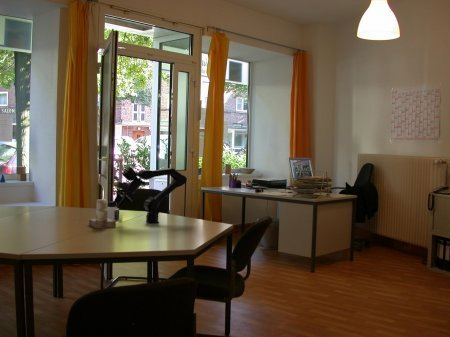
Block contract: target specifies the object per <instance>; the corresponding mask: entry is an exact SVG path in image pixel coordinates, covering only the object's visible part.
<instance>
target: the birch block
mask: <svg viewBox="0 0 450 337" xmlns="http://www.w3.org/2000/svg"><path fill="white" fill-rule="evenodd" d="M108 202H109V201H108V199H104V198H103V199H102V198H101V199H96V207H95V208H96V210H95V211H96V212H95V213H96V214H95V215H96V218H95V219H96V220H98V221H107V214H108Z"/></svg>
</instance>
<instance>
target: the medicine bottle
mask: <svg viewBox="0 0 450 337" xmlns="http://www.w3.org/2000/svg"><path fill="white" fill-rule="evenodd" d="M113 202H114V200H111V201H110V200H109V201H108V214H107V218H110V219H112V220H114V221H116V222H117V221H119V220H120V208H118V203H116V204H114V205H113Z"/></svg>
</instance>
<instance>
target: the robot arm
mask: <svg viewBox="0 0 450 337" xmlns="http://www.w3.org/2000/svg"><path fill="white" fill-rule="evenodd" d="M121 174H122V176H123V177H124V178H125V179H126V180H127V181H128V182H129V181H130V182H129V183H127V182H125V181H123V182H121V181H117V184H116V187H117V190H115V198H114V200H113V201H114V202H113V205H114V204H116V203H117V207H122V206H124V205H126V204H129V203H132V202H134V201H135V200H136V196H135V195H134V193H137V192H138V189H139V188H140V187H141V186H143V187H145V186H146V181H147V180H151V179H153V178H155V177H163V176H170V177H171V178H172V181H171V182H170V184H168V185H166V187H165V188H164V189H162V190H161V191H160V192H159V193H157V195H155V196H154V197H153V196H149V197H148V198H147V199H146V200H144V203H143V208H144V210H145V211H146V215H145V216H146V219H145V220H146V221H145V222H146V223H147V224H159V223H160V222H159V213H160V210H161V209H160V208H159V205H160V203H161V201H163V200H164V199H165V198H166V197H168V196H169V195H170V194H171V193H172V192H173V191H175V190H176V189H177V188H179V187H182V186H183V185H185V184H187V181H188V180H187V176H185V175H183V174H182V173H181V172H179V171H177V170H176V169H175V168H174V167H173V168H172V167H169V168H164V169H154V170H149V169H140V170H139V171H138V172H136V171H135V169H133V167H131V166H129V167H128V168H126V169H124V170H123V172H122V173H121ZM144 180H145V181H144Z"/></svg>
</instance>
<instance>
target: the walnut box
mask: <svg viewBox="0 0 450 337" xmlns="http://www.w3.org/2000/svg"><path fill="white" fill-rule="evenodd" d="M116 224H117V221H114V220H112V219H110V218H107V221H98V220H96V218H89V220H88V226H90V227H92V228H94V229H96V230H97V229H107V228H116V227H117V226H116Z"/></svg>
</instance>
